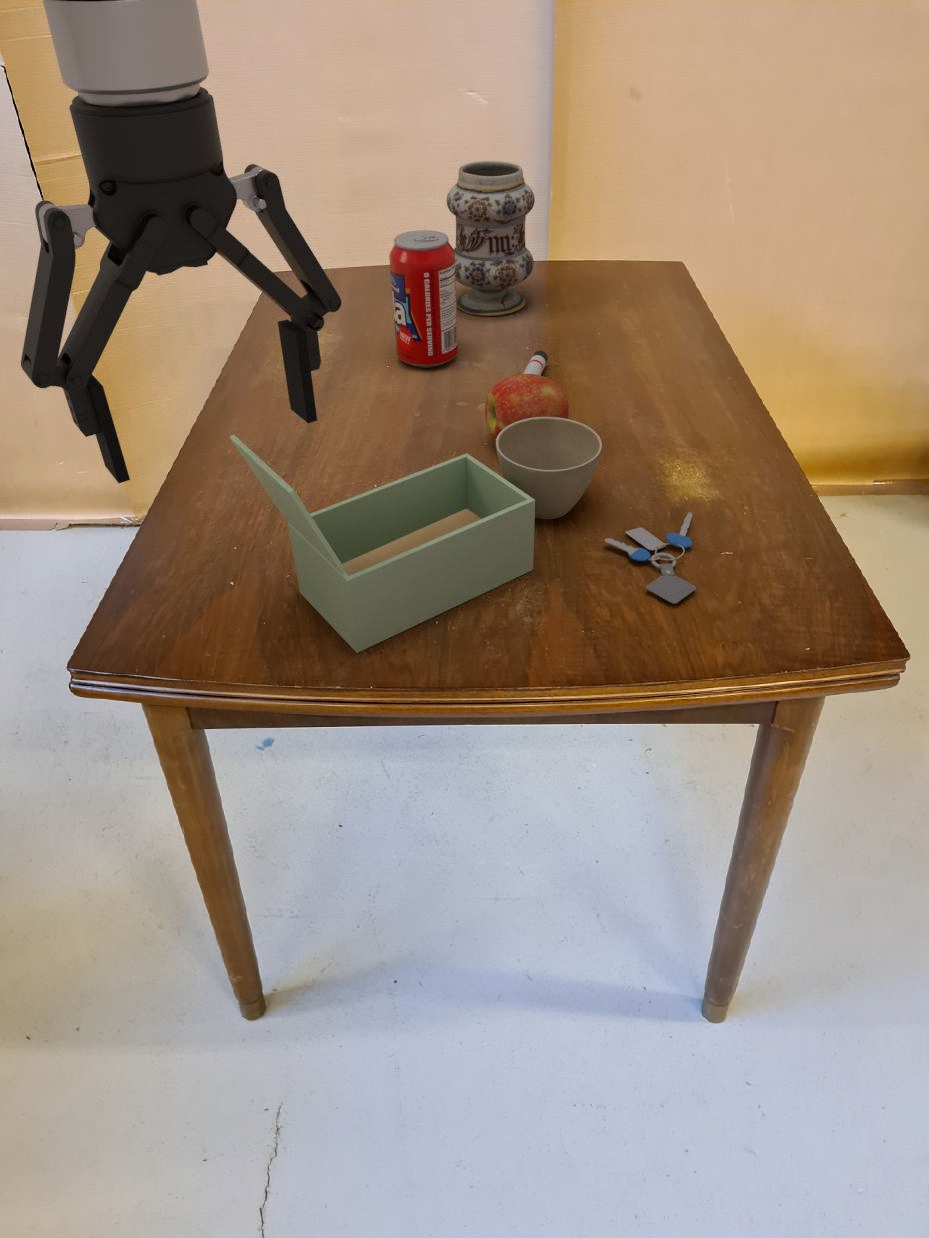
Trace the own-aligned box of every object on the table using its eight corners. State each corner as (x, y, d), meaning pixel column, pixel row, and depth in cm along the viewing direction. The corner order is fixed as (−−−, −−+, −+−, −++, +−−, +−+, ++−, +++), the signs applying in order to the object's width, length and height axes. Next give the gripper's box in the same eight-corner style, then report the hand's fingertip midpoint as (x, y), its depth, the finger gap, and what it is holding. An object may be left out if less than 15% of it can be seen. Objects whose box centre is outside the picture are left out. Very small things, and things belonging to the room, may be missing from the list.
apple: (480, 433, 101) (479, 366, 96) (551, 423, 103) (554, 356, 98) (499, 469, 95) (499, 399, 90) (575, 457, 97) (579, 388, 92)
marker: (532, 364, 115) (533, 349, 113) (547, 366, 114) (548, 350, 113) (502, 421, 103) (502, 405, 102) (519, 423, 103) (519, 407, 102)
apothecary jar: (543, 293, 133) (548, 159, 121) (515, 325, 124) (517, 184, 113) (467, 284, 136) (464, 153, 125) (435, 313, 128) (428, 176, 116)
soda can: (457, 371, 114) (453, 248, 104) (395, 372, 114) (385, 250, 104) (458, 345, 120) (455, 226, 110) (399, 346, 120) (390, 228, 110)
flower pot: (483, 526, 88) (483, 461, 83) (510, 473, 95) (510, 411, 90) (586, 541, 85) (591, 476, 80) (605, 486, 92) (610, 423, 88)
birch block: (340, 598, 79) (335, 566, 77) (467, 539, 85) (466, 507, 83) (361, 618, 77) (357, 586, 74) (491, 556, 83) (490, 524, 81)
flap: (347, 572, 69) (343, 575, 69) (287, 514, 75) (283, 517, 75) (294, 489, 62) (289, 493, 62) (233, 433, 68) (228, 437, 68)
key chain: (696, 609, 77) (697, 601, 76) (598, 600, 78) (599, 593, 78) (693, 517, 87) (694, 510, 87) (607, 511, 89) (607, 504, 88)
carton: (356, 653, 74) (346, 581, 69) (299, 592, 80) (286, 522, 76) (533, 569, 82) (535, 499, 77) (468, 520, 88) (466, 452, 83)
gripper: (314, 55, 56) (347, 375, 70) (-128, 109, 46) (13, 475, 59) (376, 72, 52) (398, 412, 65) (-102, 137, 41) (45, 528, 54)
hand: (215, 443), depth 62 cm, fingers open, 13 cm apart
